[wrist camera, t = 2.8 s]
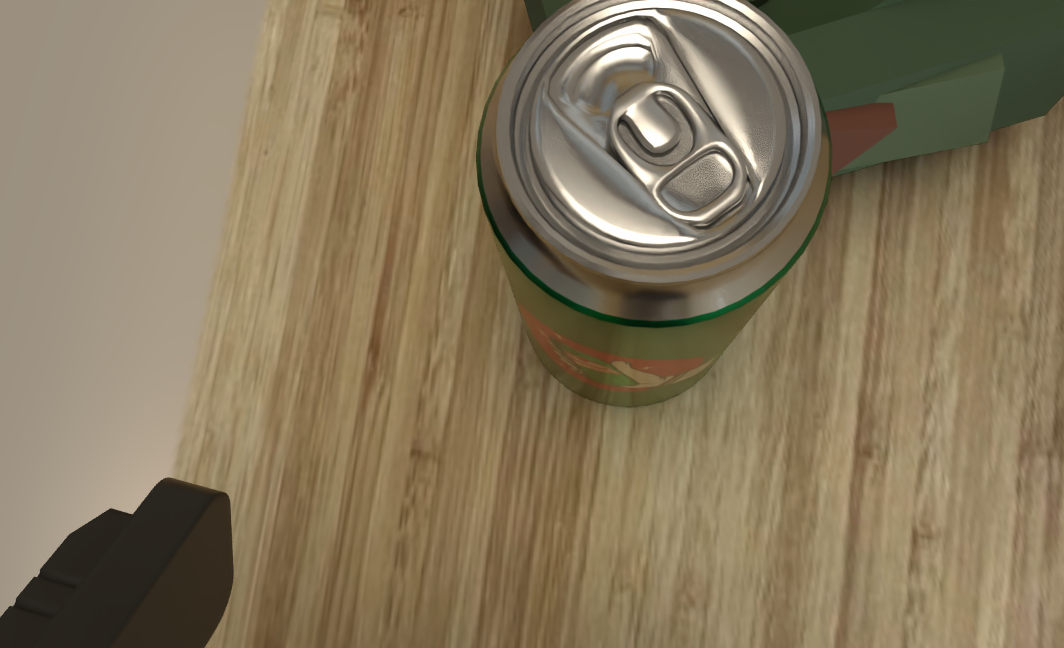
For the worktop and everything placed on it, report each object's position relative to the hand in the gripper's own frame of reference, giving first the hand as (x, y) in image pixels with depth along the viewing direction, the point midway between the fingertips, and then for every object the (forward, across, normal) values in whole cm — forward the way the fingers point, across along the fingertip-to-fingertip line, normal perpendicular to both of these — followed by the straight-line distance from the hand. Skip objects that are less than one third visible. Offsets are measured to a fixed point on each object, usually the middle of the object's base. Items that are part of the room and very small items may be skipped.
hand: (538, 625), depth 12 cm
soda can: (+13, 0, +4) cm, 14 cm away
